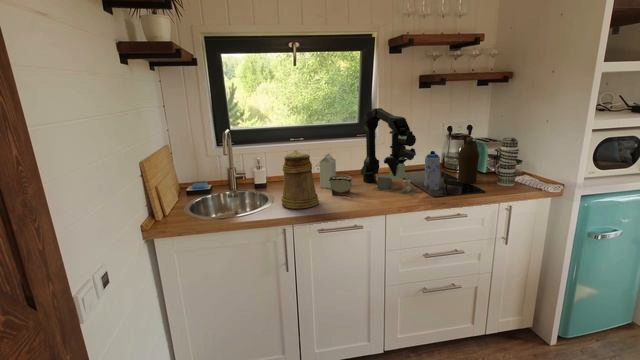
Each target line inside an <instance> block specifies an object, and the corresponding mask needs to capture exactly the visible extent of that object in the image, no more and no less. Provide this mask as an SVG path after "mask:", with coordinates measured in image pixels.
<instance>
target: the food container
mask: <svg viewBox="0 0 640 360" xmlns="http://www.w3.org/2000/svg"><path fill="white" fill-rule="evenodd" d="M329 181H330V184H331V188H330V190H331V196H332V197H340V198H341V197H342V198H351V186H352V182H353V179H352V176H350V175H345V174H342V175H341V174H336V176H331V177H330V178H329Z"/></svg>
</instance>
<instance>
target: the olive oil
mask: <svg viewBox="0 0 640 360" xmlns="http://www.w3.org/2000/svg"><path fill="white" fill-rule="evenodd" d="M465 141H466V142H465V145H464V146H463V147H462V148H461V149H460V150H459V151H458V155H457V158H458V159H457V162H458V164H457V167H458V168H457V182H458V183H461V184H464V185H466V184H467V185H470V184H475V183H477V175H478V168H479V166H478V165H479V159H480V153H479V150H478V149H477V148H476V147H475V146H474V144H473V143H474V139H473V137H470V136H469V137H466V140H465Z"/></svg>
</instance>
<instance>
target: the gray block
mask: <svg viewBox="0 0 640 360" xmlns="http://www.w3.org/2000/svg"><path fill="white" fill-rule="evenodd" d="M377 186H378V189H383V190H389V189H390V188H392V186H393V179H391V178H390V174H381V175H378V176H377Z"/></svg>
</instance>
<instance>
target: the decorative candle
mask: <svg viewBox="0 0 640 360" xmlns="http://www.w3.org/2000/svg"><path fill="white" fill-rule="evenodd" d="M500 142H501V146H500V148H498V150H499V152H498V157H499V158H498V163H499V167H498V170H497V172H498V173H497V175H498V176H497V180H496V181H497V182H496V184H497V185H499V186H503V187H513V186H515V184H516V181H515V180H516V178H515V177H516V174H517V172H516V166H517V165H516V164H517V163H518V162H517V161H518V157H519V156H518V155H519V151H520V149H518V143H519V140H517V138H516V137H511V136H510V137H504V138H503V139H502V140H500Z"/></svg>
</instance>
